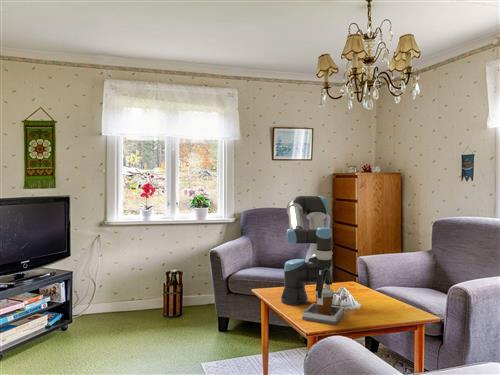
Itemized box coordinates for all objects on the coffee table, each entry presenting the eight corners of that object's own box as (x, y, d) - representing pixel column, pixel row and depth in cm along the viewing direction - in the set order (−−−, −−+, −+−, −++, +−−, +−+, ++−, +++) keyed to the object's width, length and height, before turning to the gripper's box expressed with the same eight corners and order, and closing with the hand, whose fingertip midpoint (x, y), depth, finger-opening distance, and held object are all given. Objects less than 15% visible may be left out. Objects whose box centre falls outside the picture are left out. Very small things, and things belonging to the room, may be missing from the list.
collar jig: (302, 319, 198) (302, 312, 198) (312, 309, 213) (312, 302, 213) (336, 324, 191) (336, 317, 191) (344, 314, 206) (344, 307, 206)
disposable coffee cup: (329, 318, 196) (330, 294, 195) (311, 315, 201) (311, 291, 200) (336, 313, 204) (336, 289, 204) (318, 309, 209) (319, 286, 208)
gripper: (324, 263, 189) (324, 308, 189) (337, 255, 211) (337, 295, 212) (309, 262, 192) (309, 306, 192) (323, 254, 215) (323, 293, 215)
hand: (323, 300), depth 202 cm, fingers open, 13 cm apart
